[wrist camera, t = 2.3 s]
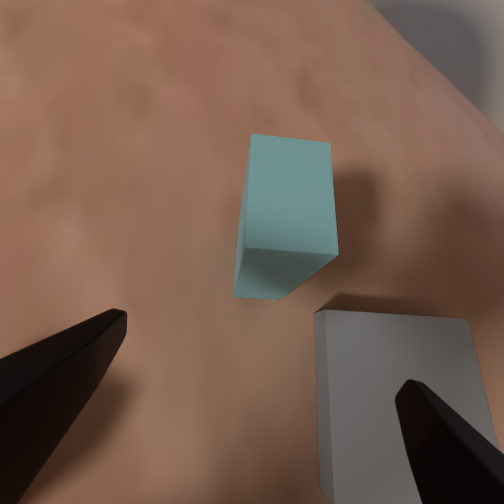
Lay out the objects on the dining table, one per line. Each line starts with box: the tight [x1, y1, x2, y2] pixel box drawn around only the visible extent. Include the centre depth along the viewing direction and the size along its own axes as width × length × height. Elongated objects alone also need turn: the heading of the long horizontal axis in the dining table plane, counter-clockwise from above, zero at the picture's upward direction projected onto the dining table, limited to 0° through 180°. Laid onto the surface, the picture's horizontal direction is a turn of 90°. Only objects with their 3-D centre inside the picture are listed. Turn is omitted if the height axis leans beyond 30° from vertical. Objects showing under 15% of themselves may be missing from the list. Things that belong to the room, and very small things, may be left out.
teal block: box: [233, 134, 339, 300], centre depth 17 cm, size 4×6×12 cm, turn 177°
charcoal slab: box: [314, 310, 499, 504], centre depth 19 cm, size 12×12×3 cm
